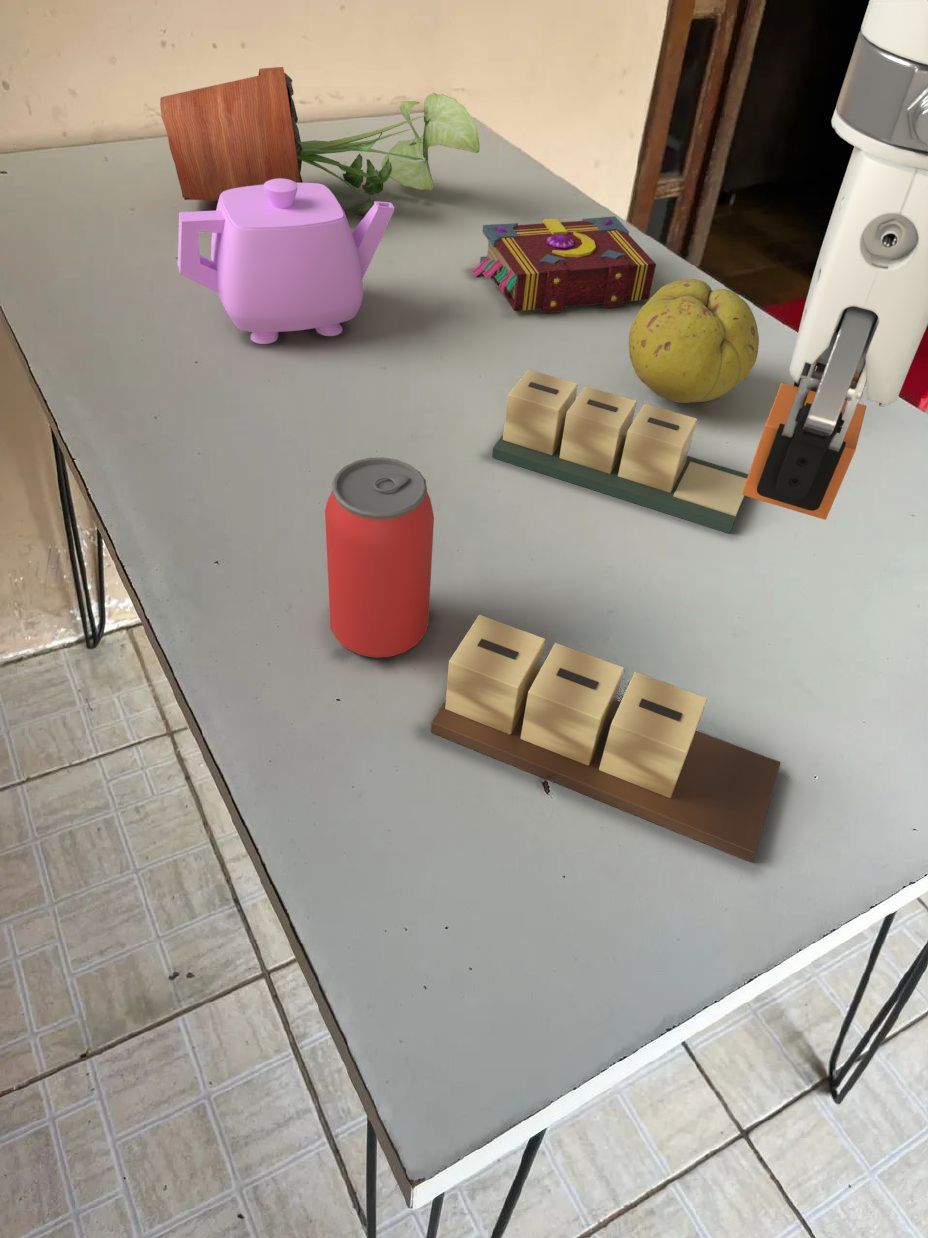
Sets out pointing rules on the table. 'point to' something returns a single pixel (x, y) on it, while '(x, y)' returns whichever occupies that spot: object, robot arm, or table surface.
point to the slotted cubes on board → (604, 736)
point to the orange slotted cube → (775, 418)
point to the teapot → (282, 256)
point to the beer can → (379, 556)
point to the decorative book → (566, 264)
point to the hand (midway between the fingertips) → (796, 469)
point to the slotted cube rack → (616, 450)
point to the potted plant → (292, 139)
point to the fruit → (693, 341)
